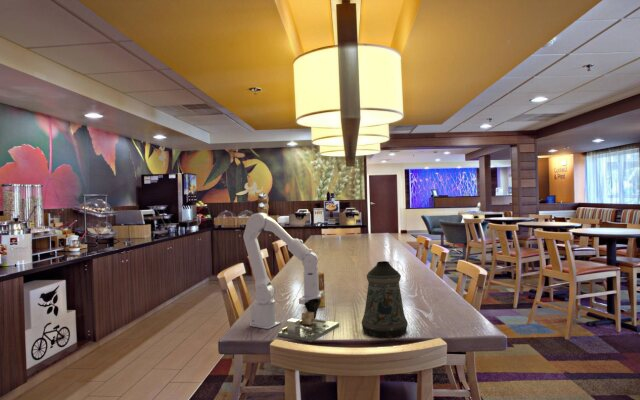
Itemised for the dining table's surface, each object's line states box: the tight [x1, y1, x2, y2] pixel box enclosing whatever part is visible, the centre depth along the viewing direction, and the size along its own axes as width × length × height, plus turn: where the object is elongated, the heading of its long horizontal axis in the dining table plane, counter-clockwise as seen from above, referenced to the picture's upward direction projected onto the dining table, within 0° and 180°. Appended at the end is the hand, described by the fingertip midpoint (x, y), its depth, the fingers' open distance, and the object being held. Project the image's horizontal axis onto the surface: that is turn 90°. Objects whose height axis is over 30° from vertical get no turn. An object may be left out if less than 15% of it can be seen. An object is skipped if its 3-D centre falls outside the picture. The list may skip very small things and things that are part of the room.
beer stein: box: [361, 260, 409, 340], centre depth 156 cm, size 16×19×25 cm
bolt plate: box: [277, 318, 340, 343], centre depth 158 cm, size 14×20×2 cm
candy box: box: [317, 271, 326, 308], centre depth 192 cm, size 9×4×15 cm, turn 96°
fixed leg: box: [286, 317, 312, 333], centre depth 153 cm, size 10×3×4 cm, turn 58°
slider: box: [301, 310, 327, 325], centre depth 161 cm, size 10×3×4 cm, turn 58°
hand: (312, 318), depth 165 cm, fingers closed
